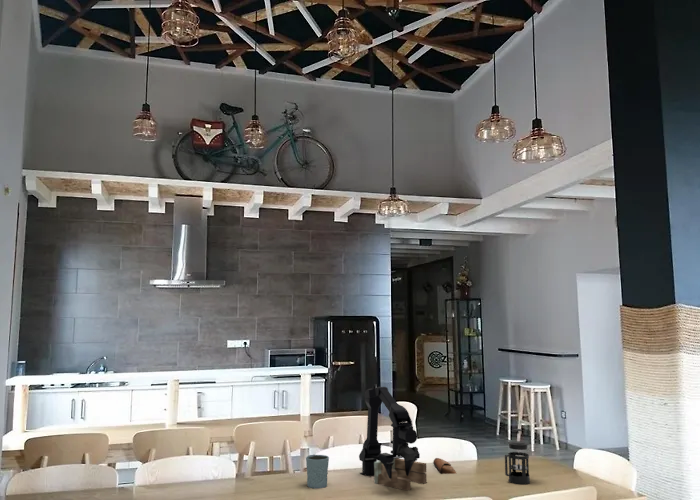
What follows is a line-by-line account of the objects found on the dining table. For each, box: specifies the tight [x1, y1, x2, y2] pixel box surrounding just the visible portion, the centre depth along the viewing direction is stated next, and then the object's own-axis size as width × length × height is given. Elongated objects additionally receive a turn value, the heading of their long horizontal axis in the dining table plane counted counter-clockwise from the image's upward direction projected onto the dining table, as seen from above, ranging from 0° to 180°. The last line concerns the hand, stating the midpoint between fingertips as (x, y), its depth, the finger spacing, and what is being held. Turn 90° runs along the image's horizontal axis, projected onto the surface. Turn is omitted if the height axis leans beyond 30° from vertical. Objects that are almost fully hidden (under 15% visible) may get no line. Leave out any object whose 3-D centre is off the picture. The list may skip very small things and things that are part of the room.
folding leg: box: [381, 464, 397, 482], centre depth 241 cm, size 14×2×4 cm, turn 17°
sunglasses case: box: [432, 457, 457, 475], centre depth 273 cm, size 18×7×7 cm, turn 3°
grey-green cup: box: [305, 454, 330, 489], centre depth 244 cm, size 10×10×12 cm
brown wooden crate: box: [373, 458, 428, 491], centre depth 249 cm, size 17×16×9 cm
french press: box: [504, 428, 531, 486], centre depth 253 cm, size 12×9×23 cm
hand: (398, 477), depth 237 cm, fingers open, 9 cm apart
